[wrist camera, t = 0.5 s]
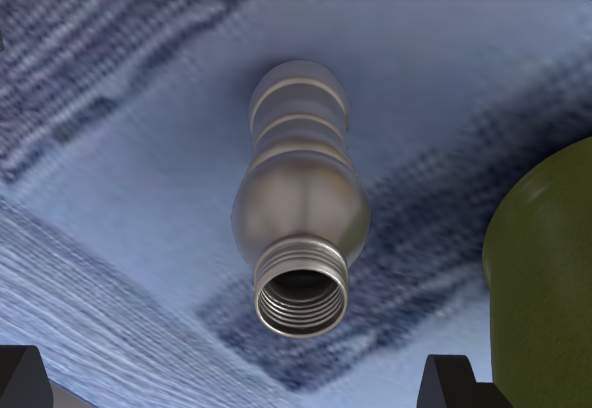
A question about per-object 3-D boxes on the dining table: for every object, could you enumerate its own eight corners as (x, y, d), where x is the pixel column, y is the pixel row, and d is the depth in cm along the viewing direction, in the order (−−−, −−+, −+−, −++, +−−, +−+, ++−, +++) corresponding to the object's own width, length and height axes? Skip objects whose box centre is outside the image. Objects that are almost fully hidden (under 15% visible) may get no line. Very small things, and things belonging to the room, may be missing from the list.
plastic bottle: (240, 129, 39) (198, 347, 22) (265, 36, 36) (238, 212, 19) (328, 153, 40) (351, 378, 23) (361, 64, 37) (416, 255, 20)
